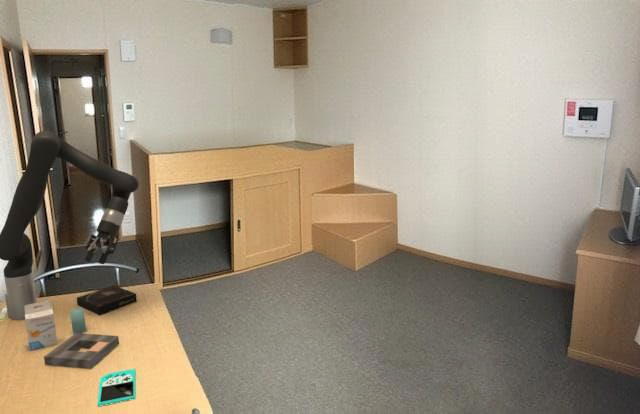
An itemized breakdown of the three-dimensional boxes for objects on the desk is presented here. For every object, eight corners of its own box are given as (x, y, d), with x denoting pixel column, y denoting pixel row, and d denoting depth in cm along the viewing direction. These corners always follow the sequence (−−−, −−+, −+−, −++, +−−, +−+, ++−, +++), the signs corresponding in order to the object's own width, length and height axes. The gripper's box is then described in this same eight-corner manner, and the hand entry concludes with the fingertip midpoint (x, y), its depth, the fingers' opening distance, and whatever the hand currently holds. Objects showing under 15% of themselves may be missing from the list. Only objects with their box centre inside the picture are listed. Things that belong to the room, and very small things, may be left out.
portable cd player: (113, 293, 211) (113, 284, 210) (136, 302, 201) (135, 293, 200) (77, 306, 198) (76, 297, 197) (99, 316, 188) (98, 307, 187)
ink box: (29, 351, 162) (23, 310, 158) (28, 345, 166) (22, 305, 162) (57, 344, 166) (52, 304, 163) (56, 338, 170) (51, 299, 167)
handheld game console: (136, 371, 150) (135, 367, 150) (136, 400, 135) (136, 396, 135) (101, 378, 146) (100, 374, 146) (97, 408, 132) (97, 404, 132)
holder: (45, 364, 153) (43, 355, 152) (77, 340, 168) (76, 332, 168) (90, 368, 151) (89, 359, 150) (119, 343, 166) (118, 335, 165)
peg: (70, 333, 174) (67, 312, 172) (77, 327, 178) (75, 307, 176) (81, 334, 173) (78, 313, 172) (88, 328, 178) (86, 308, 176)
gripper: (91, 218, 186) (74, 257, 181) (114, 220, 179) (97, 261, 173) (107, 225, 192) (91, 263, 187) (130, 227, 185) (113, 267, 179)
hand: (94, 262), depth 180 cm, fingers open, 8 cm apart
